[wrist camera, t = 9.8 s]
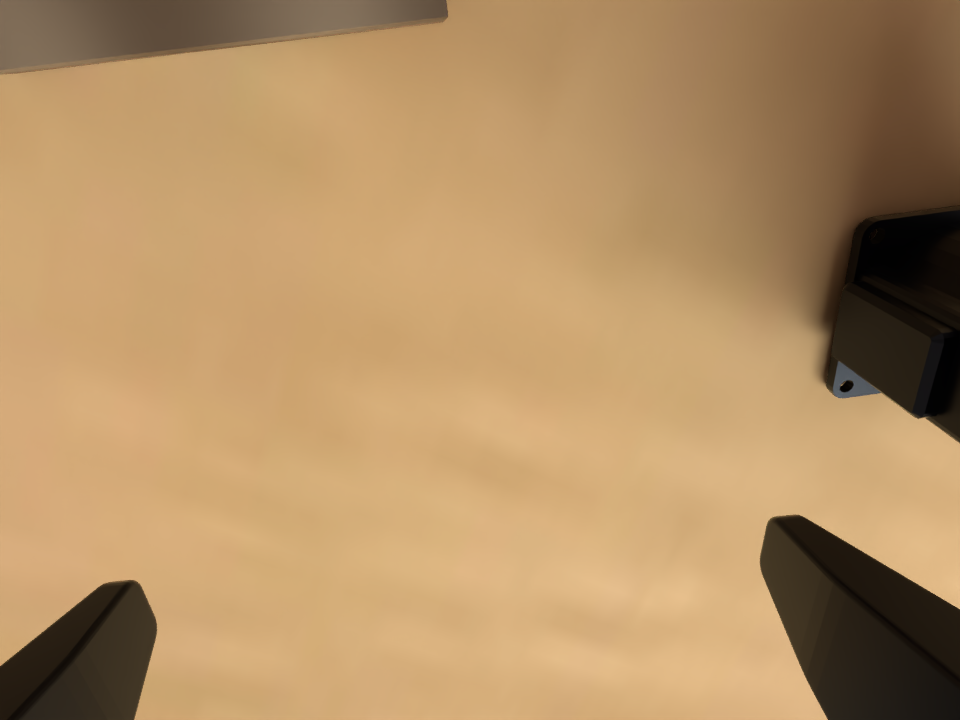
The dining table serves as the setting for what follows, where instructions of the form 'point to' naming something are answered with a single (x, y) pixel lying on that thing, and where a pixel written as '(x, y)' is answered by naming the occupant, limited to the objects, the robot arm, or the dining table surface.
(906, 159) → the dining table surface
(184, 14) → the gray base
